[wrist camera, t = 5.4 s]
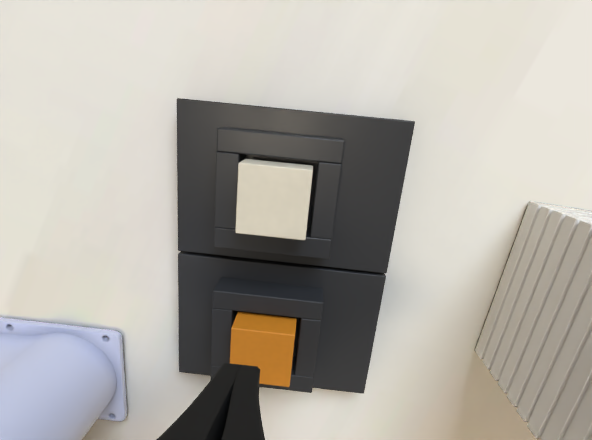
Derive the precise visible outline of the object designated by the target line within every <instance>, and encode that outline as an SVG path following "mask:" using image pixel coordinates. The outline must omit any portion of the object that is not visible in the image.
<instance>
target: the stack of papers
mask: <svg viewBox="0 0 592 440" xmlns="http://www.w3.org/2000/svg"><path fill="white" fill-rule="evenodd" d="M475 351H476V353H477V354H478V356H479V357H480V359H483V363H484V364H485V366H486V367H487V369H489V370H491V371H490V373H491V375H492V376H493V377H494V379H495V380H496V381H499V382H498V385H499V386H500V387H501V389H502V390H503V392H504V393H508V395H507V398H508V399H509V400H510V402H511V403H512V405H513V406H514V407H518V408H517V410H516V411H517V412H518V413H519V415H520V416H521V418H522V419H523V421H524V422H529V423H528V425H527V426H528V428H529V429H530V431H531V432H532V434H533V435H534V436H535V438H537V439H541V440H592V211H587V210H581V209H574V208H568V207H562V206H556V205H550V204H543V203H537V202H531V201H529V204H528V206H527V209H526V212H525V215H524V217H523V220H522V223H521V226H520V228H519V231H518V234H517V237H516V239H515V242H514V245H513V248H512V250H511V253H510V256H509V258H508V261H507V264H506V267H505V269H504V272H503V275H502V278H501V280H500V283H499V286H498V289H497V291H496V294H495V297H494V300H493V302H492V305H491V308H490V311H489V313H488V316H487V319H486V321H485V324H484V327H483V330H482V332H481V335H480V338H479V341H478V343H477V346H476V349H475Z"/></svg>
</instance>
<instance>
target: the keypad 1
mask: <svg viewBox="0 0 592 440" xmlns="http://www.w3.org/2000/svg"><path fill="white" fill-rule="evenodd" d="M385 278H386V276H385V274H384V273H380V272H371V271H362V270H353V269H343V268H334V267H325V266H316V265H307V264H297V263H288V262H279V261H270V260H260V259H251V258H242V257H233V256H224V255H214V254H205V253H196V252H187V251H181V252H180V253H179V254H178V285H179V372H185V373H193V374H202V375H210V376H211V379H212V378H213V377H214V375H215V374H216V373H217V371H218V370H219V368H220V367H221V366H222V365H223V364H224V363H230V344H231V328H232V325H233V323H234V320H235V318H236V315H237V313H238V312H247V313H256V314H265V315H274V316H282V317H291V318H296V319H297V321H296V332H295V342H294V351H293V360H292V369H291V378H290V386H289V387H283V386H275V385H266V384H259V387H267V388H275V389H284V390H292V391H301V392H309V393H311V392H312V388H321V389H329V390H338V391H346V392H355V393H364V390H365V384H366V379H367V374H368V368H369V363H370V358H371V352H372V347H373V342H374V336H375V331H376V326H377V321H378V315H379V310H380V305H381V299H382V294H383V289H384V283H385Z"/></svg>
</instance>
